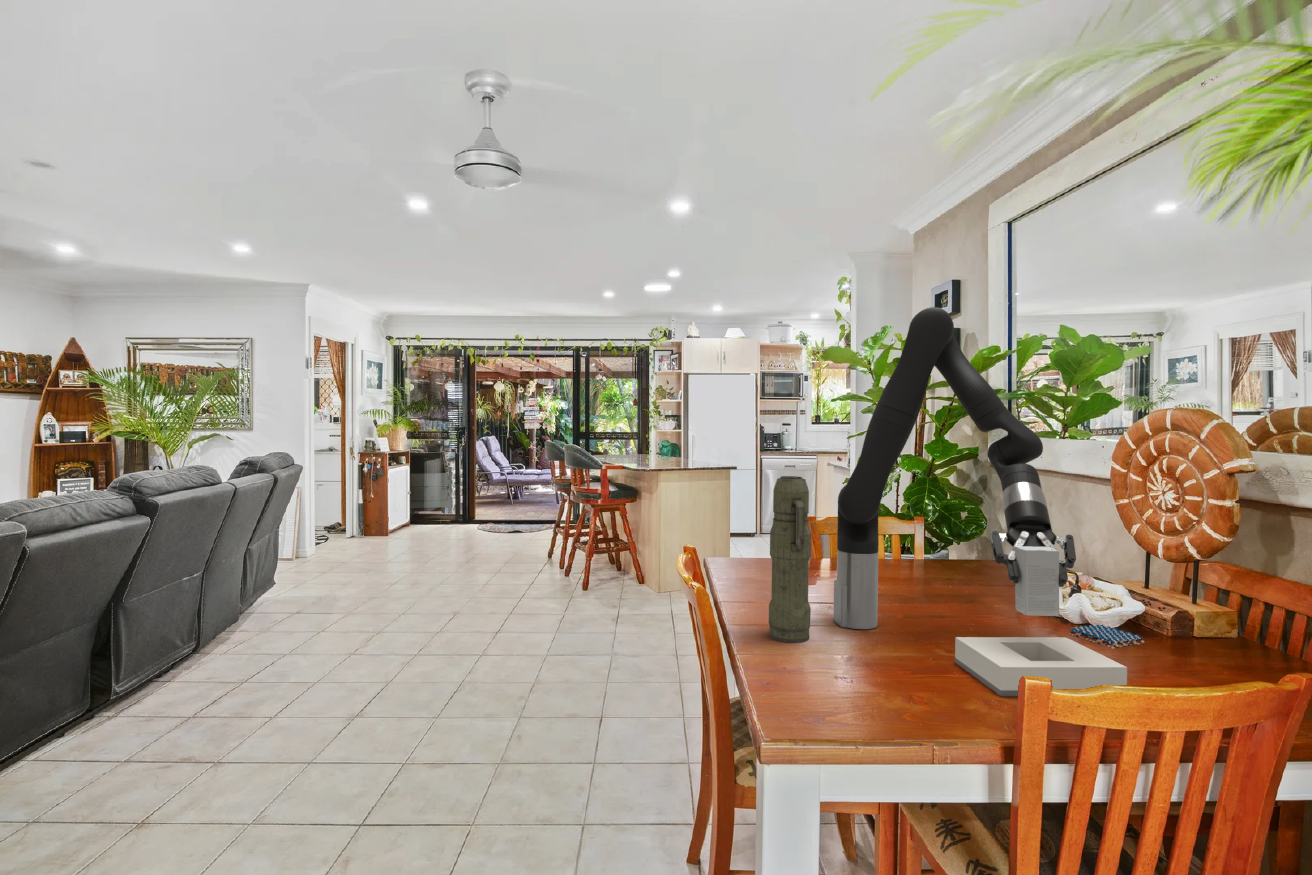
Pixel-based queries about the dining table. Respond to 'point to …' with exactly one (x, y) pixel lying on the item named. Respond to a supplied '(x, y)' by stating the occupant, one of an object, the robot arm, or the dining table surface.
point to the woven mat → (1106, 636)
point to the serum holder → (1035, 663)
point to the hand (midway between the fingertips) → (1038, 582)
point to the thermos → (790, 561)
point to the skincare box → (1037, 581)
